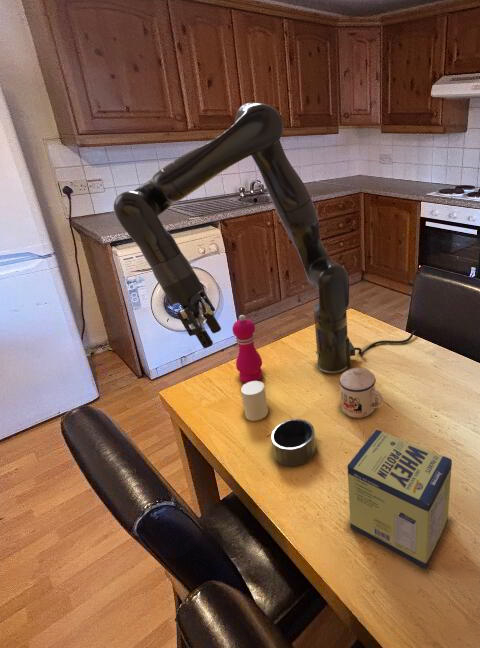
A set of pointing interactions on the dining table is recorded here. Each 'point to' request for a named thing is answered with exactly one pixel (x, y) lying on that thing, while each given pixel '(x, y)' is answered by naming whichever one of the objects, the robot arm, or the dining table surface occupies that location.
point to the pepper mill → (247, 351)
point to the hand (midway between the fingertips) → (213, 338)
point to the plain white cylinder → (254, 400)
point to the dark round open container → (293, 442)
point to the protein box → (399, 496)
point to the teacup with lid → (359, 392)
